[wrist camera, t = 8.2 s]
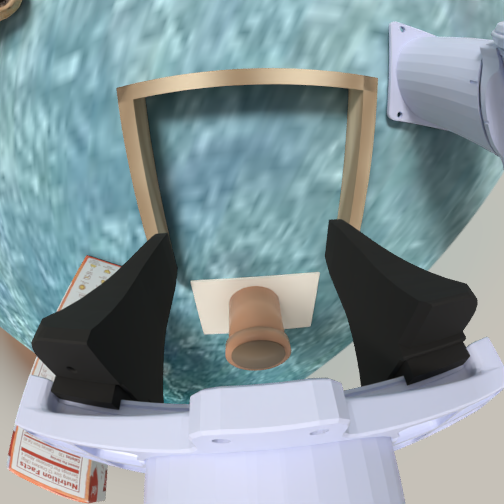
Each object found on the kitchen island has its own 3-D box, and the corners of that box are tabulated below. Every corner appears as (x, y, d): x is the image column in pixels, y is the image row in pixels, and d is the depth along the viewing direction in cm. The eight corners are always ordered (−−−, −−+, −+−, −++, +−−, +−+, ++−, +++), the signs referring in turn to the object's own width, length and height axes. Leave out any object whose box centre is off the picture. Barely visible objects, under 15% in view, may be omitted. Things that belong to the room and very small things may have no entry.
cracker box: (131, 347, 32) (107, 503, 15) (88, 333, 30) (51, 484, 13) (144, 269, 24) (92, 509, 8) (86, 251, 23) (1, 469, 6)
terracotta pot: (271, 276, 25) (279, 330, 20) (288, 312, 28) (298, 362, 24) (216, 294, 26) (213, 348, 21) (239, 327, 30) (241, 376, 25)
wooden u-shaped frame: (361, 76, 15) (377, 78, 13) (341, 257, 25) (350, 275, 23) (130, 85, 15) (116, 88, 13) (166, 269, 24) (161, 288, 22)
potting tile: (319, 271, 26) (319, 273, 26) (310, 325, 30) (310, 326, 30) (190, 280, 25) (190, 282, 25) (204, 332, 30) (204, 334, 30)
